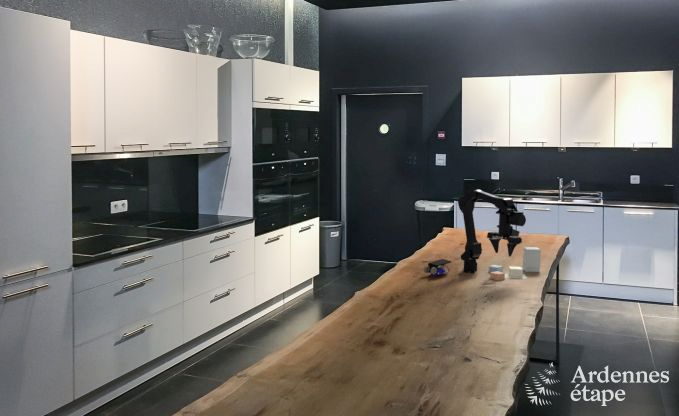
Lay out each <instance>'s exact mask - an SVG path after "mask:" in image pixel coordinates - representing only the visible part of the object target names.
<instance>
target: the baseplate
mask: <svg viewBox="0 0 679 416" xmlns="http://www.w3.org/2000/svg"><path fill="white" fill-rule="evenodd" d="M505 279H519V280H528V277H527V276H526V274H524V273H523V277H510V276H509V273H505Z"/></svg>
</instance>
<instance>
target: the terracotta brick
mask: <svg viewBox="0 0 679 416" xmlns="http://www.w3.org/2000/svg"><path fill="white" fill-rule="evenodd" d="M505 274H506V273H505V272H503V271H502V272H499V271H495V272H489V279H491V280H495V281H502V280H505V279H506V278H505Z"/></svg>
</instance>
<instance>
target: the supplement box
mask: <svg viewBox="0 0 679 416" xmlns="http://www.w3.org/2000/svg"><path fill="white" fill-rule="evenodd" d="M522 249H523V252H522V254H523V255H522V266H521V267H522V269H523V272H527V273H541V256H542V255H541V253H542V251H541V249H540V248H539V247H536V246H533V247H532V246H523V248H522Z"/></svg>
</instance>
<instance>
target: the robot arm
mask: <svg viewBox="0 0 679 416" xmlns="http://www.w3.org/2000/svg"><path fill="white" fill-rule="evenodd" d="M478 200H480V201H484V202H486V203H489V204H491V205H493V206H495V208H497V209H498V210H496V211H495V214H497V215H498V217H499V218H498V224H497V225H496V228H498V231H489V232H487V235H486V238H487V239H488V240H489V241H490V244H491V245H492V247H493V249H494V252H495V254H498V253H499V247H500V242H501V240H505V241H507V243H506V246H507V255H508V257H512V255H513V252H514V250H515V248H516V247H517V246H518V245H520V244H522V243H523V241H522V240H523V239H522V237H521V236H519V235H520V230H519V231H518V230H517V229H514V227H513V226H516V227H517V226H518V227H524V226H525V225H526V221H527V218H526V215H524V212H523V211H519V210H518V209H517V207H516V204H515V203H514V200H513V198H511V197H504V196H503V197H502V196H497V195H494V194H491V193H489V192H485V191H483V190H481V189H473V190H471V192H469V193H467V194H465V195H463V196H460V197H459V198H458V199H457V205H458V209H459V210H460V212H461V213H462V217H463V222H464V223H463V224H464V230H465V236H466V237H465V238H466V243H465V245H464V252H463V253H461V255H460V259H461V261H463V266H462V267H463V268H462V271H463V273H475V271H476V272H477V271H478V261H477V260H479V259H480V256H481V255H482V251H483V248H482V242H478V239H477V236H476V235H477V233H476V228H475V227H476V226H475V222H474V214H473V213H474V210H475V206H476V205H475V203H476V202H478Z"/></svg>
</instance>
